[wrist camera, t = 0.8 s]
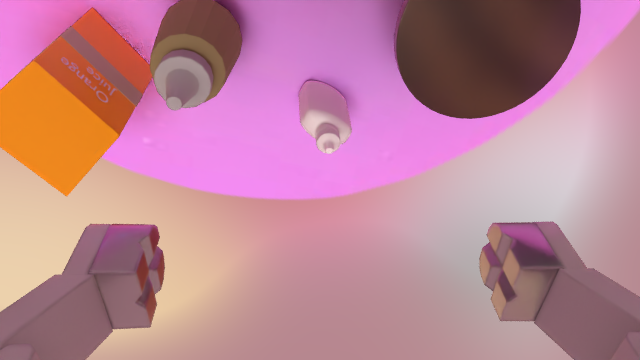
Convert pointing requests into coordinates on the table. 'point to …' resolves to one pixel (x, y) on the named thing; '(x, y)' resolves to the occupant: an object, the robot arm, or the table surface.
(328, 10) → the table surface
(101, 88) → the orange juice
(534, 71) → the little table
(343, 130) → the eye dropper bottle
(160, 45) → the squeeze bottle
